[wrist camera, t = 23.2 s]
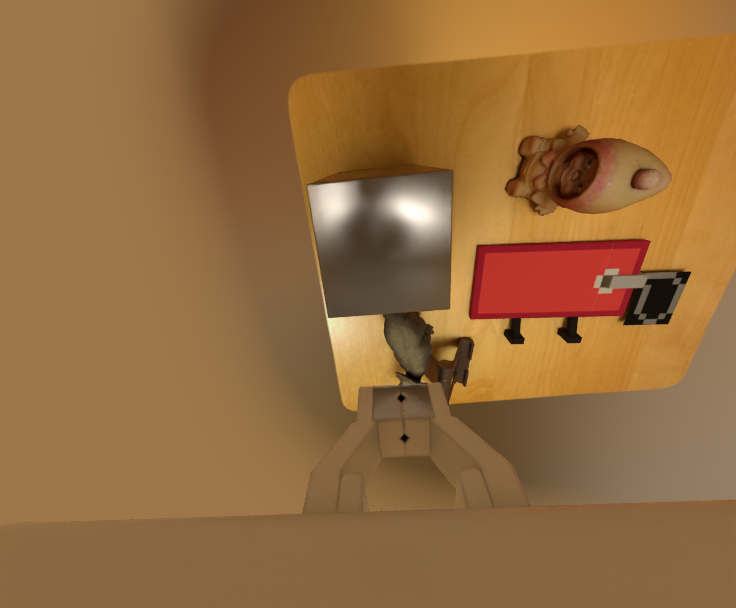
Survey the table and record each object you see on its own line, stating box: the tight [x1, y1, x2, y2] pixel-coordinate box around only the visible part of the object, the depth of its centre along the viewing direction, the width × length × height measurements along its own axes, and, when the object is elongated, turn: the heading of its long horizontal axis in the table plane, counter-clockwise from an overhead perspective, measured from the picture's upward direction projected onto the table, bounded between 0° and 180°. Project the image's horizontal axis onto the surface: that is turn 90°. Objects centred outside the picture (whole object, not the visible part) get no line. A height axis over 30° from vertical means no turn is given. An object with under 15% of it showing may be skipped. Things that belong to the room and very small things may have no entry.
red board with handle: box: [469, 240, 691, 344], centre depth 43 cm, size 30×3×15 cm
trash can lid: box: [307, 170, 453, 318], centre depth 21 cm, size 10×10×1 cm
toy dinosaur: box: [383, 312, 434, 385], centre depth 42 cm, size 22×8×11 cm, turn 14°
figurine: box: [505, 125, 671, 216], centre depth 31 cm, size 10×8×15 cm
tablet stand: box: [425, 337, 474, 405], centre depth 46 cm, size 9×8×8 cm
